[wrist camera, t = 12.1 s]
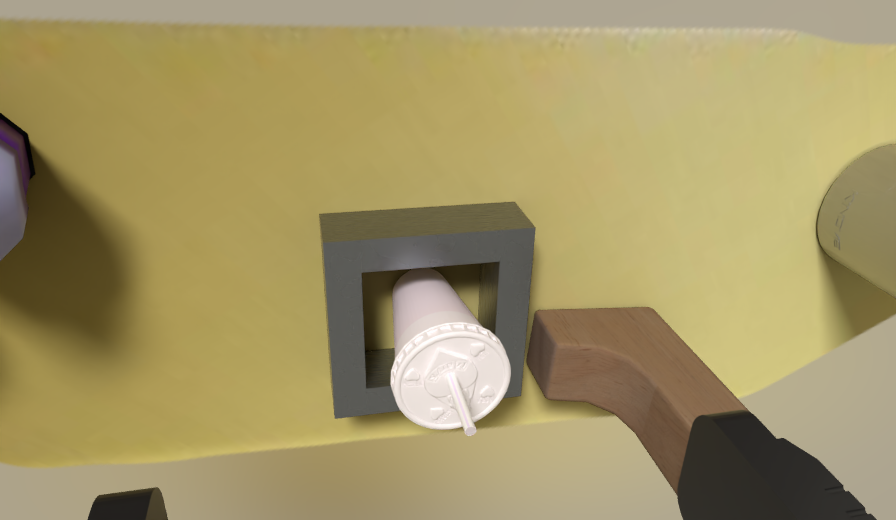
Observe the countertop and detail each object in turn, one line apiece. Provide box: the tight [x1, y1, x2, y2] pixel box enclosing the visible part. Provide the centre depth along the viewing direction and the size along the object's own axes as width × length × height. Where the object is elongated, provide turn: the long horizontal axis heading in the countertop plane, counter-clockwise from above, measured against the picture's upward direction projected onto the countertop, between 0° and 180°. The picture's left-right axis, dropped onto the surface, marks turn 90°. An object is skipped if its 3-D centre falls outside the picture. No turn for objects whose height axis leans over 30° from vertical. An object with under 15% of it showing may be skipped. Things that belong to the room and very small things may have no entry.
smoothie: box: [391, 268, 511, 436], centre depth 38 cm, size 6×6×14 cm
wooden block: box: [526, 307, 748, 494], centre depth 40 cm, size 9×4×18 cm, turn 85°
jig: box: [319, 202, 535, 419], centre depth 42 cm, size 12×12×4 cm
